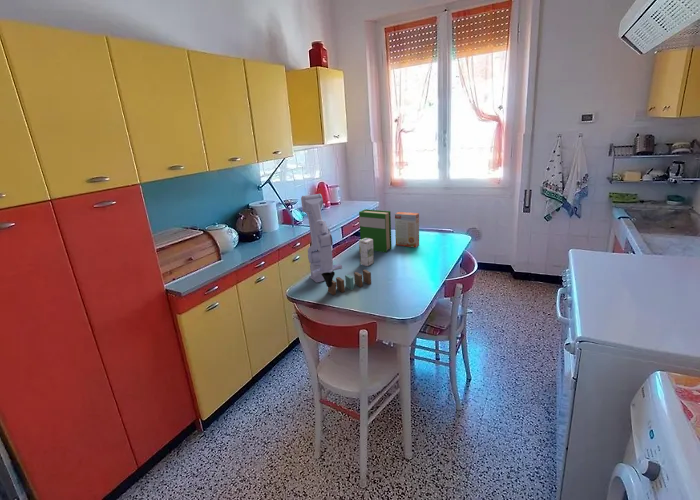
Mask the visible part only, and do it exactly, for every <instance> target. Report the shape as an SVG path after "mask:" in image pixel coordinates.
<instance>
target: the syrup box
mask: <svg viewBox="0 0 700 500" xmlns="http://www.w3.org/2000/svg"><path fill="white" fill-rule="evenodd" d="M358 244H359V245H358V248H359V265H361V266H365V267H370V266H371V265H374V263H375V262H374V256H375V255H374V254H375V253H374V251H373V239H369V238H364V239H362V240H361V239H359V240H358Z"/></svg>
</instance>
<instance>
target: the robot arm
mask: <svg viewBox="0 0 700 500" xmlns="http://www.w3.org/2000/svg"><path fill="white" fill-rule="evenodd" d="M300 202H301V209H302V212H303V213H306V214H307V219H308V224H309V225H308V226H309V231H310V239H311V245H310V246H309V247H308V248H307V258H308V262H309V264H310V265H309V267H310V268H309V270H310V275H309V279H312V280H313V281H314V282H315V283H321V282H323V281H324V282H325V285H326V287H327V288H328V287H331V283H332V280H334V276H335V272H334V271H337V270H342V269H343V265H342V264H340V263H338V264H334V263H333V262H334V261H333V249H332V246H333V245H334V244H333V236H332V233H331V231H329V230H328V226H327V225H328V224H327V222H326V221H325V220H323V215H322V208H323V205H324V199H323V195H322V194H321V193H316V194H307V195H301V198H300Z"/></svg>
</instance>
